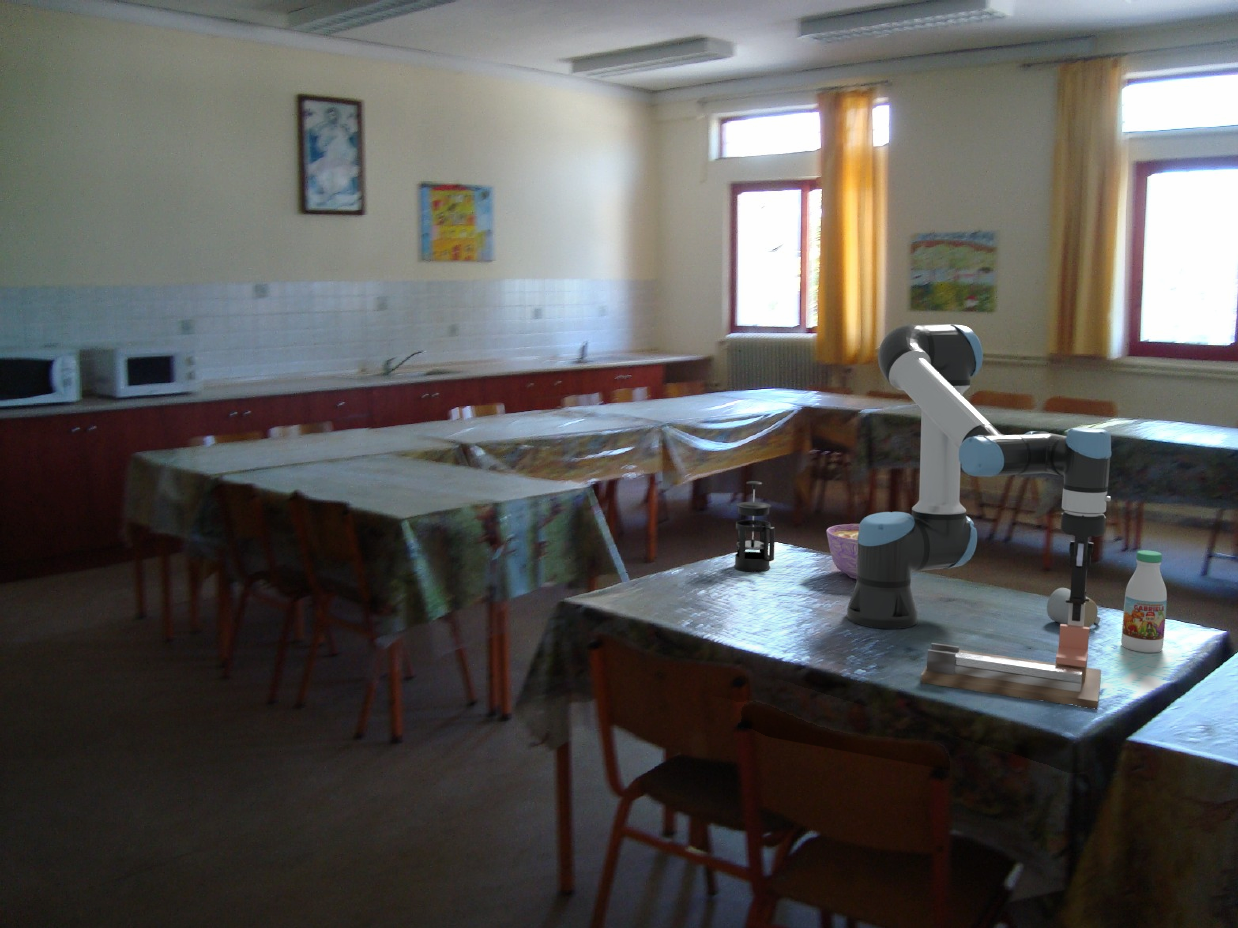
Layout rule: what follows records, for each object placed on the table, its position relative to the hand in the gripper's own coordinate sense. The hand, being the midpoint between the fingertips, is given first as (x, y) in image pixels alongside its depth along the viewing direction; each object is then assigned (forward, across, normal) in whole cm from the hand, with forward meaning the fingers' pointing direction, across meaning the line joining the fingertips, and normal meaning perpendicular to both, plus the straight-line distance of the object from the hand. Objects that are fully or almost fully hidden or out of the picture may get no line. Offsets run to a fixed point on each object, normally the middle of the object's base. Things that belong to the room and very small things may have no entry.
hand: (1074, 635), depth 203 cm
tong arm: (+5, -11, +10) cm, 16 cm away
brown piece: (+8, -7, +10) cm, 15 cm away
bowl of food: (+8, +58, +52) cm, 78 cm away
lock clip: (+3, -5, 0) cm, 6 cm away
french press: (+8, +53, +80) cm, 96 cm away
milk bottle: (+8, +25, -12) cm, 29 cm away
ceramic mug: (+8, +36, +1) cm, 37 cm away
